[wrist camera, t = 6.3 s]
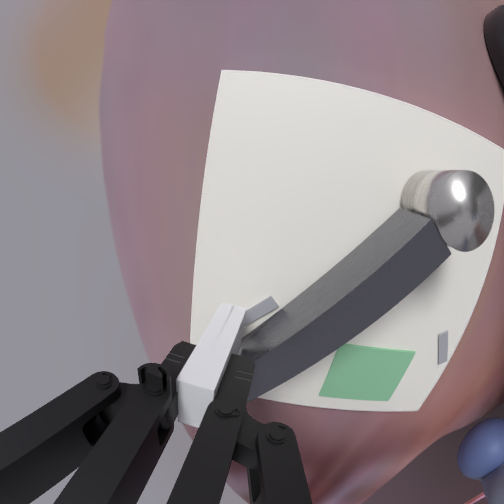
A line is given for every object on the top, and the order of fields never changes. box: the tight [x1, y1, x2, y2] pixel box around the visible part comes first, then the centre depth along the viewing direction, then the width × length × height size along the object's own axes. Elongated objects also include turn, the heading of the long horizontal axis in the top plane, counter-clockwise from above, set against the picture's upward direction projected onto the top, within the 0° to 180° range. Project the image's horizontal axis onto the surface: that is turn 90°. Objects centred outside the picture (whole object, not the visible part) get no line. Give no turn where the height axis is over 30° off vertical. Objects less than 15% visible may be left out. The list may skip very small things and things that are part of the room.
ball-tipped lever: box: [238, 170, 495, 402], centre depth 13 cm, size 19×4×4 cm, turn 134°
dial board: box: [190, 70, 504, 411], centre depth 16 cm, size 20×22×2 cm
